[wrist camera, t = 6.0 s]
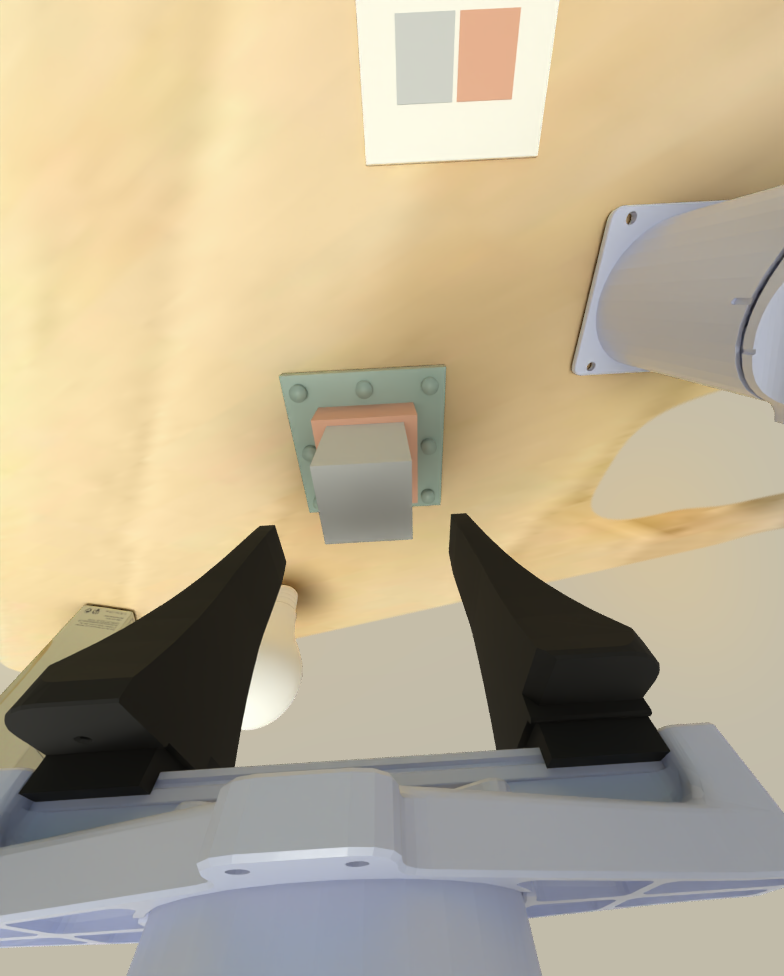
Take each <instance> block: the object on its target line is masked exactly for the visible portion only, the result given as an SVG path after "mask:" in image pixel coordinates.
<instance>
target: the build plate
mask: <svg viewBox="0 0 784 976" xmlns="http://www.w3.org/2000/svg"><path fill="white" fill-rule="evenodd" d="M279 379H280V383H281V388H282V392H283V397H284V401H285V406H286V410H287V414H288V419H289V423H290V428H291V432H292V436H293V441H294V445H295V450H296V454H297V458H298V463H299V467H300V472H301V476H302V480H303V485H304V489H305V494H306V498H307V502H308V507H309V511H310V513H311V512H319V510H318V505H317V500H316V496H315V491H314V486H313V481H312V476H311V471H310V464H311V462H312V460H313V457H314V455H315V452H316V446H315V441H314V435H313V430H312V425H311V419H312V418H313V416H314V414H315V412H316V411H317V409H318V408H320V407H337V406H355V405H372V404H390V403H407V402H413V403H414V406H415V409H416V412H417V445H418V503H412V506H428V505H440V501H441V477H442V453H443V429H444V405H445V381H446V366H445V365H427V366H409V367H392V368H374V369H356V370H338V371H321V372H303V373H285V374H281V375H280V376H279Z"/></svg>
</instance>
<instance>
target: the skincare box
mask: <svg viewBox="0 0 784 976" xmlns="http://www.w3.org/2000/svg"><path fill="white" fill-rule="evenodd" d="M133 622H135V618H134V614H133V612H131V611H124V610H118V609H111V608H104V607H96V606H88V605H84V606H83V607H82V608H81V609H80V610H79V611H78V612H77V613H76V615H75V616H74V617H73V618H72V619H71V620H70V621H69V622H68V623H67V624H66V625H65V626H64V627H63V628H62V629H61V631H60V632H59V633H58V634H57V635H56V636H55V637H54V638H53V639H52V640H51V641H50V643H49V644H48V645H47V646H46V647H45V648H44V649H43V650H42V651H41V652H40V653H39V654H38V655H37V656H36V657H35V659H34V660H33V661H32V662H31V663H30V664H29V665H28V666H27V667H26V668H25V669H24V670H23V671H22V672H21V674H20V675H19V676H18V677H17V678H16V679H15V680H14V681H13V682H12V683H11V684H10V685H9V687H8V688H7V689H6V690H5V691H4V692H3V693H2V694H1V695H0V768H15V767H24V768H31V769H35V770H36V769H37V767H38V766H39V765H40V763H41V762H42V760H43V759H44V758H45V756H46V755H44V754H43V753H41V752H40V751H38V750H37V749H35V748H33V747H32V746H30V745H29V744H27V743H26V742H24V741H22V740H21V739H19V738H18V737H16V736H15V735H14V734H12V733H11V732H10V731H9V730H8V729H7V727H6V725H5V722H4V718H5V714H6V713H7V712H8V710H9V709H10V708H11V707H12V706H13V705H14V704H15V703H16V702H17V700H18V699H19V698H20V697H21V696H22V695H23V694H24V693H25V692H26V690H27V689H28V688H29V687H30V686H31V685H32V684H33V683H34V682H35V680H36V679H37V678H38V677H39V676H40V675H41V674H42V673H43V671H44V670H45V669H46V668H47V667H48V666H49V665H51V664H53V663H55V662H58V661H60V660H62V659H64V658H66V657H68V656H70V655H72V654H74V653H76V652H78V651H80V650H82V649H85V648H87V647H89V646H91V645H93V644H95V643H97V642H99V641H101V640H103V639H104V638H106V637H108V636H110V635H112V634H114V633H116V632H117V631H119V630H121V629H123V628H125V627H126V626H128V625H130V624H132V623H133Z"/></svg>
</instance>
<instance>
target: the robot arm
mask: <svg viewBox="0 0 784 976" xmlns="http://www.w3.org/2000/svg"><path fill="white" fill-rule="evenodd" d="M629 213H630V214H631V216H632V217H631V221H630V223H629V224H627V223H626V218H627V215H628V214H629ZM589 363H592V366H591V368H589V369H588V370H587V366H588V364H589ZM650 371H652V372H656V373H660V374H663V375H667V376H671V377H675V378H679V379H683V380H686V381H690V382H694V383H698V384H702V385H705V386H709V387H713V388H717V389H721V390H724V391H728V392H732V393H736V394H740V395H744V396H748V397H752V398H755V399H759V400H763V401H767V402H768V403H770V404H771V406H772V407H773V409H774V412H775V418H774V420H775V422H778V423H782V424H784V185H781V186H777V187H774V188H770V189H767V190H763V191H760V192H756V193H752V194H749V195H745V196H742V197H738V198H735V199H731V200H718V201H699V202H681V203H662V204H643V205H624V206H621V207H618V208H616V209H615V210H613V211H612V212H611V214H610V215H609V217H608V220H607V223H606V227H605V232H604V236H603V240H602V244H601V248H600V252H599V256H598V261H597V265H596V269H595V273H594V277H593V281H592V285H591V290H590V294H589V298H588V302H587V306H586V310H585V314H584V319H583V323H582V327H581V331H580V335H579V339H578V343H577V348H576V352H575V356H574V360H573V364H572V372H573V373H574V374H576V375H598V374H615V373H633V372H650ZM449 556H450V561H451V566H452V571H453V575H454V578H455V581H456V584H457V587H458V590H459V593H460V596H461V599H462V602H463V605H464V608H465V611H466V614H467V617H468V620H469V623H470V626H471V630H472V633H473V638H474V642H475V646H476V651H477V655H478V660H479V664H480V669H481V673H482V678H483V683H484V687H485V693H486V698H487V703H488V707H489V713H490V718H491V723H492V729H493V733H494V740H495V744H496V750H492V751H478V752H462V753H447V754H431V755H416V756H400V757H385V758H370V759H354V760H339V761H325V762H308V763H293V764H279V765H278V764H277V765H262V766H247V767H235V761H236V755H237V749H238V744H239V737H240V732H241V727H242V722H243V717H244V712H245V707H246V702H247V697H248V693H249V688H250V684H251V680H252V675H253V671H254V667H255V663H256V659H257V655H258V651H259V647H260V644H261V641H262V638H263V635H264V632H265V629H266V626H267V624H268V621H269V618H270V615H271V613H272V610H273V607H274V605H275V602H276V599H277V596H278V593H279V590H280V587H281V585H282V580H283V576H284V571H285V566H286V559H285V556H284V553H283V550H282V547H281V543H280V540H279V537H278V534H277V531H276V527H275V525H268V526H259V527H258V528H257V529H256V530H255V531H253V532H252V533H251V534H250V535H249V536H248V537H247V538H246V539H245V540H243V541H242V542H241V543H240V544H239V545H238V546H237V547H236V548H235V549H234V550H232V551H231V552H230V553H229V554H228V555H227V556H226V557H225V558H223V559H222V560H221V561H220V562H219V563H218V564H216V565H215V566H214V567H213V568H211V569H210V570H209V571H208V572H207V573H205V574H204V575H203V576H202V577H201V578H199V579H198V580H197V581H195V582H194V583H193V584H191V585H190V586H189V587H187V588H186V589H185V590H183V591H182V592H180V593H179V594H178V595H176V596H175V597H173V598H172V599H170V600H169V601H167V602H166V603H164V604H163V605H161V606H159V607H158V608H156V609H155V610H153V611H151V612H150V613H148V614H147V615H145V616H143V617H142V618H140V619H139V620H137V621H135V622H133V623H132V624H130V625H128V626H126V627H125V628H123V629H121V630H119V631H117V632H116V633H114V634H112V635H110V636H108V637H106V638H104V639H103V640H101V641H99V642H97V643H95V644H93V645H91V646H89V647H87V648H85V649H82V650H80V651H78V652H76V653H74V654H72V655H70V656H68V657H66V658H64V659H62V660H60V661H58V662H55V663H53V664H51V665H49V666H48V667H47V668H46V669H45V670H44V671H43V673H42V674H41V675H40V676H39V677H38V678H37V679H36V680H35V682H34V683H33V684H32V685H31V686H30V687H29V688H28V689H27V690H26V692H25V693H24V694H23V695H22V696H21V697H20V698H19V699H18V700H17V702H16V703H15V704H14V705H13V706H12V707H11V708H10V709H9V710H8V712H7V713H6V714H5V718H4V722H5V725H6V727H7V729H8V730H9V731H10V732H11V733H12V734H14V735H15V736H16V737H18V738H19V739H21V740H22V741H24V742H26V743H27V744H29V745H30V746H32V747H33V748H35V749H37V750H38V751H40V752H41V753H43V754H44V755H46V756H45V758H44V759H43V760H42V762H41V763H40V765H39V766H38V767H37V769H36V770H35V769H31V768H24V767H15V768H0V948H9V947H30V946H32V947H34V946H59V945H61V946H62V945H95V944H128V943H139V944H138V946H137V949H136V952H135V955H134V958H133V960H132V963H131V965H130V968H129V970H128V973H127V976H542V974H541V970H540V966H539V962H538V957H537V954H536V949H535V945H534V941H533V937H532V932H531V928H530V924H529V920H528V918H537V917H547V916H556V915H565V914H574V913H582V912H593V911H602V910H611V909H620V908H629V907H639V906H648V905H658V904H667V903H677V902H688V901H700V900H711V899H724V898H736V897H750V896H758V895H762V894H765V893H768V892H772V891H775V890H778V889H782V888H784V813H783V811H782V810H781V809H780V808H779V806H778V805H777V804H776V803H775V801H774V800H773V799H772V797H771V796H770V795H769V794H768V792H767V791H766V790H765V789H764V788H763V786H762V785H761V784H760V782H759V781H758V780H757V779H756V777H755V776H754V775H753V773H752V772H751V771H750V770H749V768H748V767H747V766H746V765H745V763H744V762H743V761H742V759H741V758H740V757H739V756H738V754H737V753H736V752H735V751H734V749H733V748H732V747H731V745H730V744H729V743H728V742H727V740H726V739H725V738H724V737H723V735H722V734H721V733H720V732H719V730H718V729H717V728H716V726H714V725H713V724H711V723H693V724H677V725H669V726H664V727H662V728H659V729H658V730H657V729H656V728H655V726H654V725H653V723H652V722H651V720H650V719H649V717H648V716H651V714H652V711H651V709H650V707H649V706H648V704H647V703H646V701H645V700H644V698H643V697H644V695H645V694H646V692H647V691H648V690H649V688H650V687H651V686H652V684H653V683H654V682H655V680H656V678H657V676H658V674H659V671H660V669H659V668H660V667H659V662H658V661H657V660H656V658H655V657H654V656H653V654H652V653H651V652H650V650H649V649H648V648H647V646H646V645H645V643H644V642H643V641H642V640H641V639H640V637H638V635H637V634H636V633H635V631H634V630H633V629H632V628H630V627H628V626H626V625H624V624H622V623H619V622H617V621H615V620H613V619H611V618H608V617H606V616H604V615H602V614H599V613H598V612H596V611H593V610H592V609H589V608H588V607H586V606H584V605H582V604H580V603H578V602H577V601H575V600H573V599H571V598H569V597H568V596H566V595H564V594H562V593H561V592H559V591H558V590H556V589H554V588H553V587H551V586H549V585H548V584H546V583H545V582H543V581H542V580H540V579H539V578H537V577H536V576H535V575H533V574H532V573H530V572H529V571H528V570H526V569H525V568H523V567H522V566H521V565H520V564H518V563H517V562H516V561H515V560H513V559H512V558H511V557H510V556H509V555H508V554H506V553H505V552H504V551H503V550H502V549H501V548H500V547H499V546H498V545H497V544H496V543H495V542H493V541H492V540H491V539H490V538H489V537H488V536H487V535H486V534H485V533H484V532H483V531H482V530H481V528H480V527H479V526H478V525H477V524H476V523H475V522H474V521H473V520H472V519H471V518H470V517H469V516H468V515H467V514H466V513H464V514H451V524H450V540H449Z"/></svg>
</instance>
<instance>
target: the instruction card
mask: <svg viewBox="0 0 784 976" xmlns="http://www.w3.org/2000/svg"><path fill="white" fill-rule="evenodd" d="M558 6H559V0H356V14H357V29H358V45H359V61H360V76H361V92H362V107H363V123H364V138H365V154H366V166H374V165H393V164H413V163H432V162H452V161H471V160H490V159H510V158H529V157H537V156H538V149H539V142H540V135H541V128H542V120H543V113H544V106H545V99H546V92H547V85H548V78H549V70H550V63H551V56H552V49H553V42H554V35H555V28H556V20H557V13H558Z"/></svg>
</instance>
